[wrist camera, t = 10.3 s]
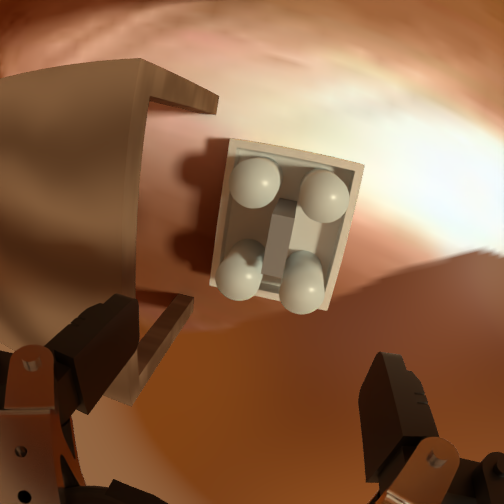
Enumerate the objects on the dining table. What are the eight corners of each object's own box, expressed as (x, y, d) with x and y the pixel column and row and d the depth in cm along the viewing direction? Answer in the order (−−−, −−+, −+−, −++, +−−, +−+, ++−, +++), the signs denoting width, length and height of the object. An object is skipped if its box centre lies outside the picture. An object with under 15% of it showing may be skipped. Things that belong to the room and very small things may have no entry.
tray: (236, 138, 25) (213, 137, 19) (358, 163, 24) (377, 169, 18) (216, 273, 29) (192, 310, 23) (325, 297, 28) (329, 341, 22)
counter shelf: (84, 93, 25) (-24, 85, 13) (219, 96, 24) (140, 58, 11) (78, 279, 32) (-5, 339, 20) (192, 311, 31) (131, 406, 18)
